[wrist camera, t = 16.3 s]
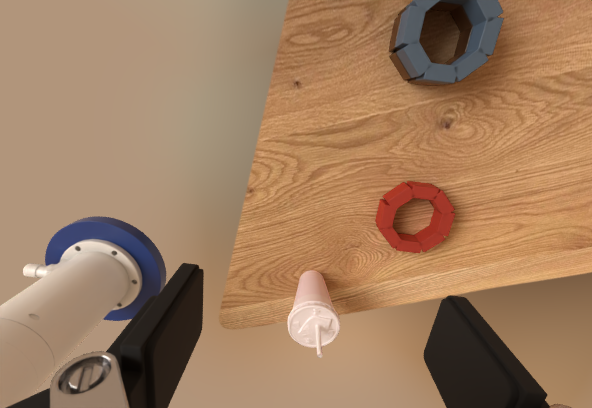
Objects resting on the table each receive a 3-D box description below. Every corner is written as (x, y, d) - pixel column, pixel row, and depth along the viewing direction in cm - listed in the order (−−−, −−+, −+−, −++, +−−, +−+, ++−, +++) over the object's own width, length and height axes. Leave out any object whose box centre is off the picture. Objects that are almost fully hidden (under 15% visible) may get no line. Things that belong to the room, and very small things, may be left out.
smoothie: (340, 287, 44) (356, 366, 31) (304, 305, 45) (305, 388, 32) (319, 255, 42) (326, 324, 29) (282, 274, 43) (273, 349, 30)
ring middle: (388, 77, 32) (395, 75, 30) (409, -22, 29) (418, -33, 27) (470, 88, 32) (482, 86, 30) (499, -10, 29) (515, -19, 27)
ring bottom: (382, 79, 34) (388, 77, 32) (401, -13, 31) (408, -22, 29) (458, 89, 34) (469, 88, 32) (484, -1, 31) (498, -9, 29)
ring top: (370, 240, 41) (374, 248, 39) (385, 177, 38) (390, 182, 36) (434, 247, 41) (441, 256, 39) (453, 186, 38) (462, 191, 36)
